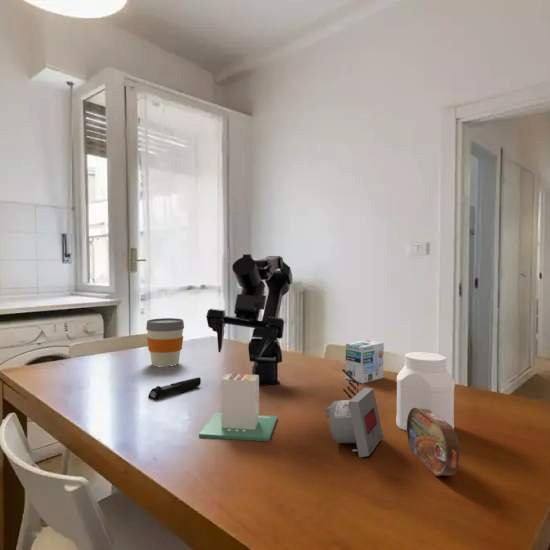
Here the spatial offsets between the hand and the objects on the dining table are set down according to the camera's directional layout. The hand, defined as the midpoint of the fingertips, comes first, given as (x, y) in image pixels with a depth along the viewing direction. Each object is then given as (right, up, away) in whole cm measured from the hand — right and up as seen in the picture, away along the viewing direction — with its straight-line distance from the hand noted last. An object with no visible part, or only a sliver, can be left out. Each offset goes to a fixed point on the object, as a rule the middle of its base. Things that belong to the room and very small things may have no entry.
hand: (238, 354), depth 97 cm
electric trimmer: (-18, -13, +14) cm, 26 cm away
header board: (+1, -13, -10) cm, 17 cm away
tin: (+36, -14, -25) cm, 46 cm away
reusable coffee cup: (-29, -12, +46) cm, 56 cm away
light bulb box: (+36, -13, +29) cm, 47 cm away
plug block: (+1, -13, -10) cm, 16 cm away
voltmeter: (+25, -14, -11) cm, 30 cm away
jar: (+40, -14, -9) cm, 43 cm away
